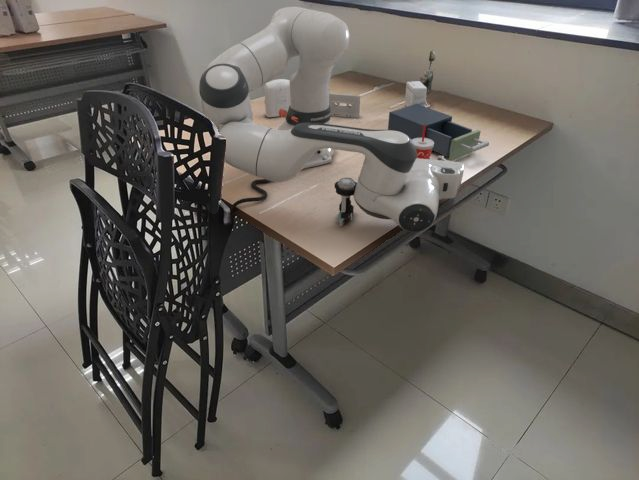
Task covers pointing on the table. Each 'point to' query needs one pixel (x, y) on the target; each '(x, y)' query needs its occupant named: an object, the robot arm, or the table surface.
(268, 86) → the photo printer
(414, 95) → the ink box
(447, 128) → the drawer
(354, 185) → the push button
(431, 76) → the plant with pod
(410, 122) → the cabinet
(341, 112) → the cassette
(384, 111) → the table surface
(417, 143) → the beverage cup
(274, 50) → the robot arm
